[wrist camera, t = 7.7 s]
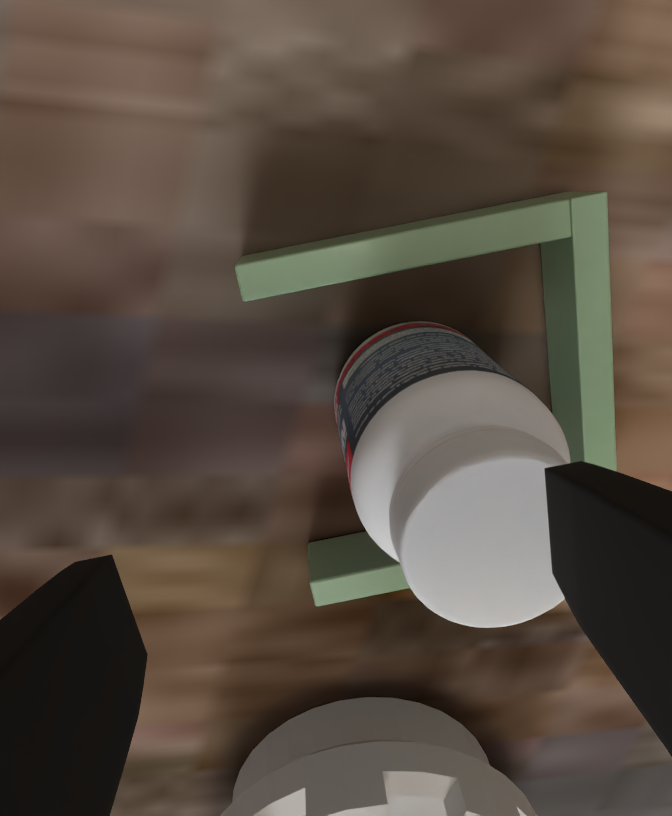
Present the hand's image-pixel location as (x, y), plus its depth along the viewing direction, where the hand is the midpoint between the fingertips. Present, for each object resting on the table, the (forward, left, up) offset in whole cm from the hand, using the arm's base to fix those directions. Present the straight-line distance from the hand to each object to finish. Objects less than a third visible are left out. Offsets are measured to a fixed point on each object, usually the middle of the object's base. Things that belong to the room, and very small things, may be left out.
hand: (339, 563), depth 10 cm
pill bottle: (+2, -3, -11) cm, 11 cm away
